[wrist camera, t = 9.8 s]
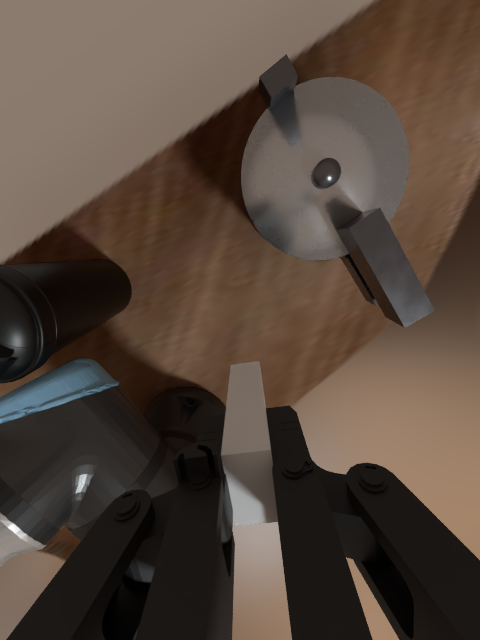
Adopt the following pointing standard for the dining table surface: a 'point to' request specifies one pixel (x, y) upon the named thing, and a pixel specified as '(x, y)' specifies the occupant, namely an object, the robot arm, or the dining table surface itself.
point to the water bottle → (54, 308)
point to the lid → (332, 181)
